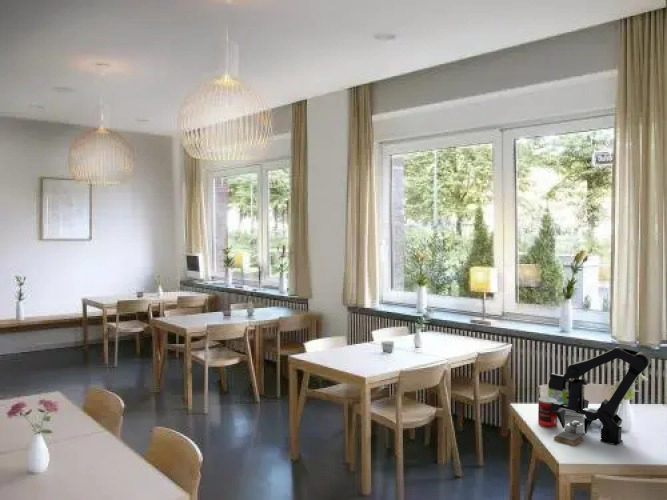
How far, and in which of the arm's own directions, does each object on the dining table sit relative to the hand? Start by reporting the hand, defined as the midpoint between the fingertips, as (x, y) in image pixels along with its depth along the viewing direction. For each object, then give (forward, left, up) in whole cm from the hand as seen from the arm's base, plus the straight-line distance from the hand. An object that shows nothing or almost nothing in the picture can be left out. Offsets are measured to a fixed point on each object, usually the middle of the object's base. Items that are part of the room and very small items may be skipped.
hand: (574, 430), depth 237 cm
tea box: (+15, -24, -1) cm, 28 cm away
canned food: (+13, -2, -1) cm, 13 cm away
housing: (0, 0, -1) cm, 1 cm away
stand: (-2, +10, -1) cm, 10 cm away
